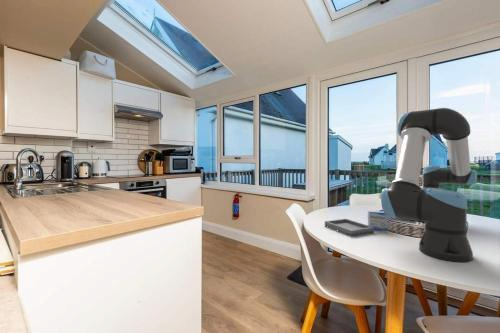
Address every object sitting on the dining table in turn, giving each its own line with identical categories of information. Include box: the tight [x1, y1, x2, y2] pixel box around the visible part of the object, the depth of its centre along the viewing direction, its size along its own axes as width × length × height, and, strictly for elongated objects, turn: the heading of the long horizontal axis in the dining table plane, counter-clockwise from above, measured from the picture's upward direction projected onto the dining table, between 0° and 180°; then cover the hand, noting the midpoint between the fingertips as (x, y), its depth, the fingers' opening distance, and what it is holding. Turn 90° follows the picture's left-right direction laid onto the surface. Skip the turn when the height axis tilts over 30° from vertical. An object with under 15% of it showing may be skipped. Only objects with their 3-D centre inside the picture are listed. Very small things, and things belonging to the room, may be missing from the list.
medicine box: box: [367, 210, 388, 231], centre depth 118 cm, size 8×4×9 cm, turn 73°
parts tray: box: [324, 218, 375, 237], centre depth 118 cm, size 18×14×2 cm
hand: (391, 198), depth 122 cm, fingers open, 13 cm apart
